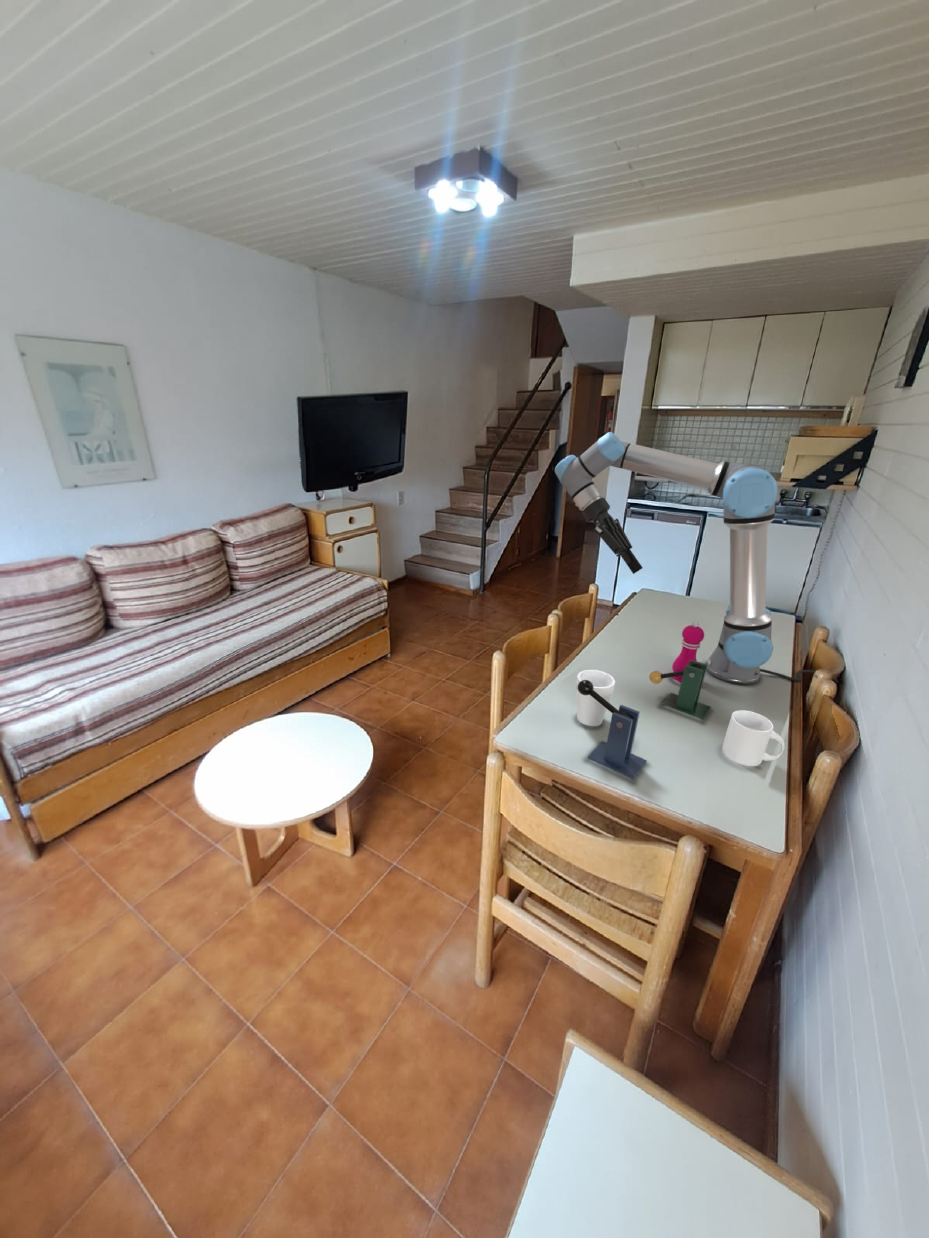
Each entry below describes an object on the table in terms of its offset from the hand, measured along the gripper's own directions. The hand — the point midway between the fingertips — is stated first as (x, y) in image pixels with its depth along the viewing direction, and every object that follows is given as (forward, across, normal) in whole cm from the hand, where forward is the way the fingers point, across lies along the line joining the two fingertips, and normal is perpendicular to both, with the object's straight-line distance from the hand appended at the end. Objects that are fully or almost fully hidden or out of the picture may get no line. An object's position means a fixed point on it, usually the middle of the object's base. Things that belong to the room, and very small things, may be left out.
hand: (638, 570), depth 141 cm
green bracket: (+40, +6, -8) cm, 41 cm away
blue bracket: (+36, +41, -12) cm, 56 cm away
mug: (+53, +19, +4) cm, 56 cm away
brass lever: (+31, +6, -6) cm, 33 cm away
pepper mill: (+36, -9, -12) cm, 39 cm away
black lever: (+23, +41, -8) cm, 48 cm away
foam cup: (+27, +30, -21) cm, 46 cm away
